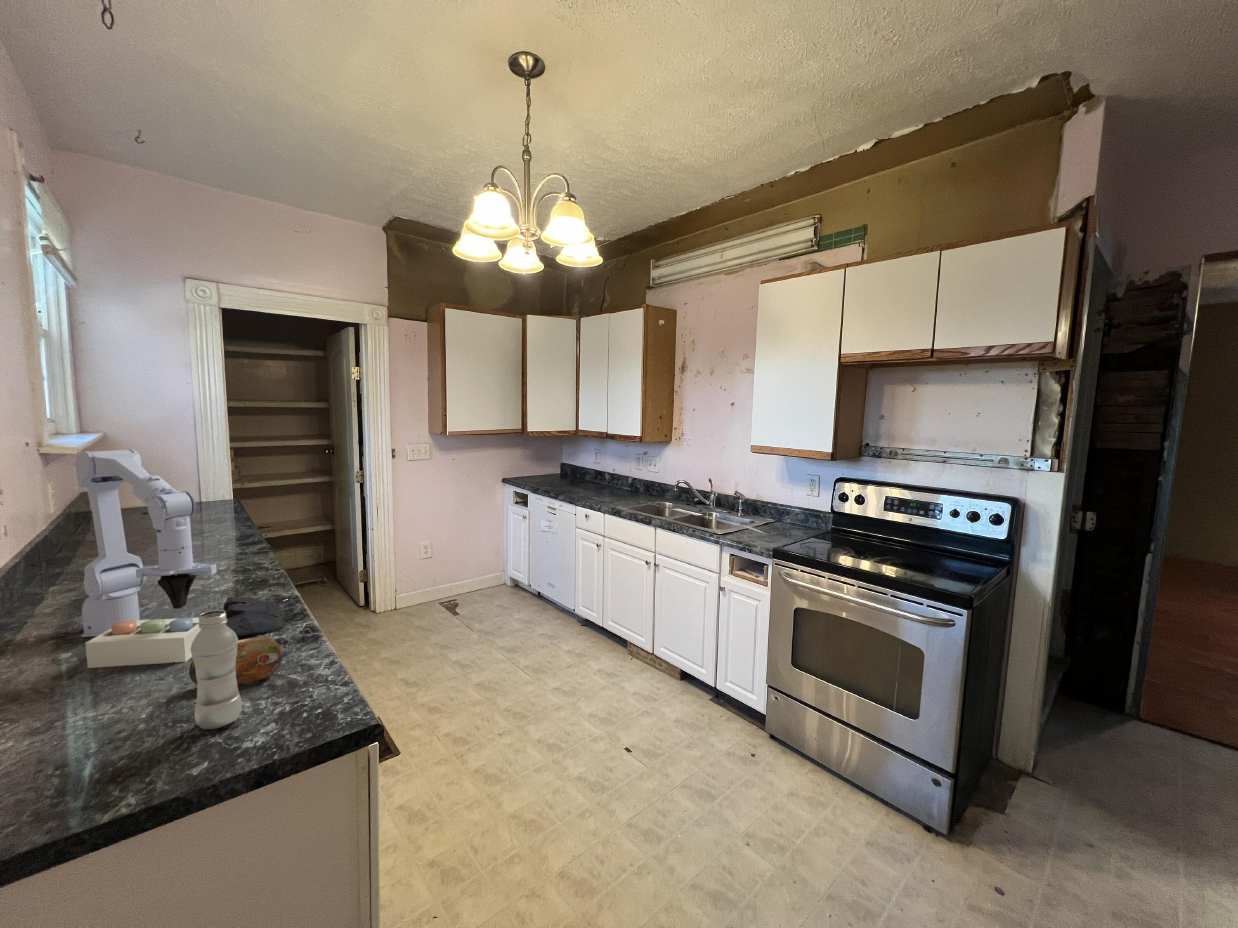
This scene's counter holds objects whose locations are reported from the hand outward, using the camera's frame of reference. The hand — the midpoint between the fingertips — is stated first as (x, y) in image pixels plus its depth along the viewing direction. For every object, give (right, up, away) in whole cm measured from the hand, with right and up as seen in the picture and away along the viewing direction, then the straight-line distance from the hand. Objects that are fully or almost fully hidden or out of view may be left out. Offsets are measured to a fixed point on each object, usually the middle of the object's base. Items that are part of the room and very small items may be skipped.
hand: (179, 606), depth 116 cm
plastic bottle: (+28, -14, -24) cm, 39 cm away
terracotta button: (-11, -6, -1) cm, 13 cm away
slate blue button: (0, -6, +1) cm, 6 cm away
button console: (-6, -10, 0) cm, 12 cm away
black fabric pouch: (+3, -9, +17) cm, 20 cm away
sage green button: (-6, -6, 0) cm, 8 cm away
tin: (+21, -12, -10) cm, 26 cm away
